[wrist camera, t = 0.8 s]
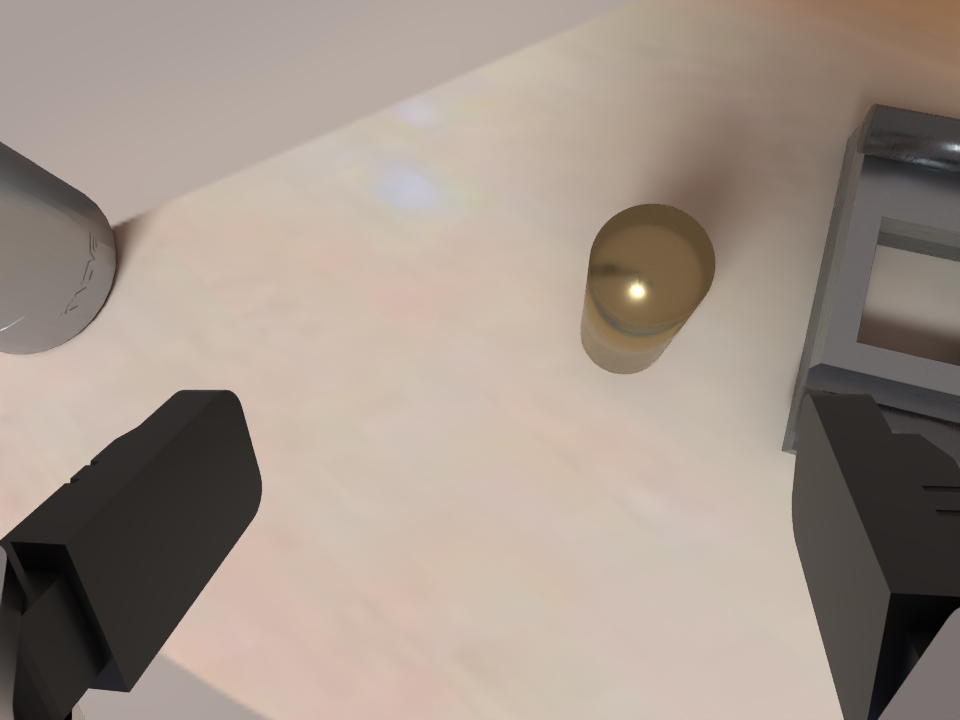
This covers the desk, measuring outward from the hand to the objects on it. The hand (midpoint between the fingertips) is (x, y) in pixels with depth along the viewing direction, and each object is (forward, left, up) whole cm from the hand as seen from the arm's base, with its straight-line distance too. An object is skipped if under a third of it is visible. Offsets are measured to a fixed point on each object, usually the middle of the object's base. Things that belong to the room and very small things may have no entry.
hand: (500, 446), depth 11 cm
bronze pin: (+2, +7, -24) cm, 25 cm away
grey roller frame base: (+14, +11, -24) cm, 30 cm away
